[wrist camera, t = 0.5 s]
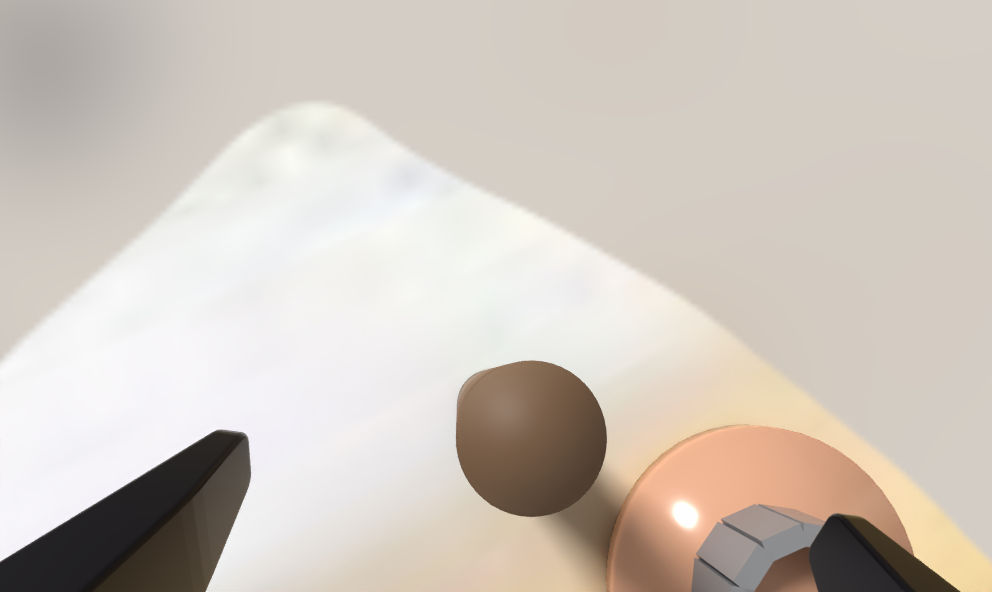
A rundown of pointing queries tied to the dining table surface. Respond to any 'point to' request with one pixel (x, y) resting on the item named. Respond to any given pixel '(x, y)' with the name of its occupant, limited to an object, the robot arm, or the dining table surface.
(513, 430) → the walnut dowel
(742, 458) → the dowel holder
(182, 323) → the dining table surface
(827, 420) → the dining table surface
